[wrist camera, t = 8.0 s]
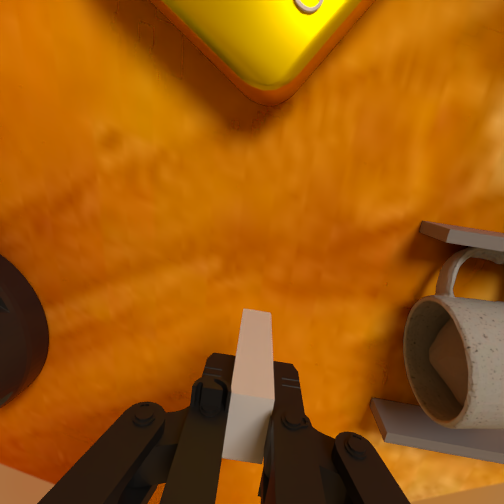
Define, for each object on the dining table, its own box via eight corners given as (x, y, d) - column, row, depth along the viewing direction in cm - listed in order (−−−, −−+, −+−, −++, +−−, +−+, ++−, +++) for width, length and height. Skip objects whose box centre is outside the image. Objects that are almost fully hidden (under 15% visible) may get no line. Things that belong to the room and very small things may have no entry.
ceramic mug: (507, 380, 24) (614, 472, 16) (396, 374, 24) (450, 459, 17) (538, 243, 21) (680, 276, 14) (414, 239, 22) (487, 269, 14)
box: (369, 405, 25) (384, 441, 22) (422, 220, 21) (450, 229, 18) (532, 435, 24) (574, 477, 21) (615, 250, 21) (681, 265, 17)
